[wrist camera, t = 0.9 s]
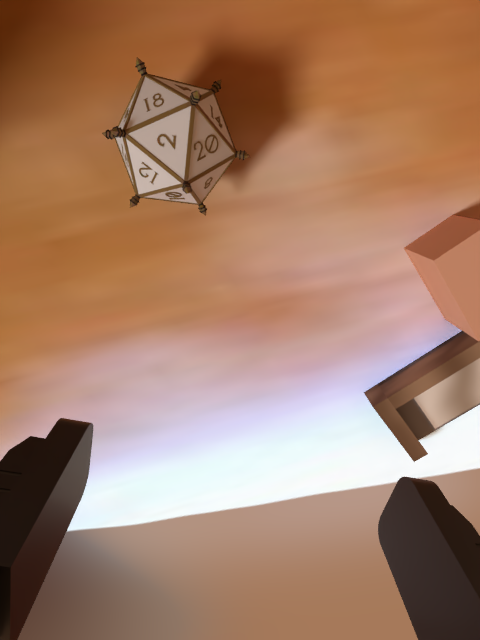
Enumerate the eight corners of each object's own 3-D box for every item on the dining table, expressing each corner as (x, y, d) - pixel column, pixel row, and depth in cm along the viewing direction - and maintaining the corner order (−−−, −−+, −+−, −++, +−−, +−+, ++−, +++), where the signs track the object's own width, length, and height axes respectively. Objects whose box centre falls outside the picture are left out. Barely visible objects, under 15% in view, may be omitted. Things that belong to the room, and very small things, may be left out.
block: (451, 214, 31) (491, 222, 26) (490, 289, 34) (533, 308, 29) (403, 247, 32) (433, 260, 27) (444, 318, 34) (478, 341, 30)
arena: (508, 301, 34) (529, 310, 32) (541, 364, 36) (562, 377, 34) (364, 392, 37) (373, 406, 34) (403, 445, 39) (414, 461, 37)
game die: (191, 125, 31) (241, 18, 22) (228, 222, 31) (293, 154, 22) (79, 136, 27) (84, 12, 18) (120, 247, 27) (146, 178, 18)
